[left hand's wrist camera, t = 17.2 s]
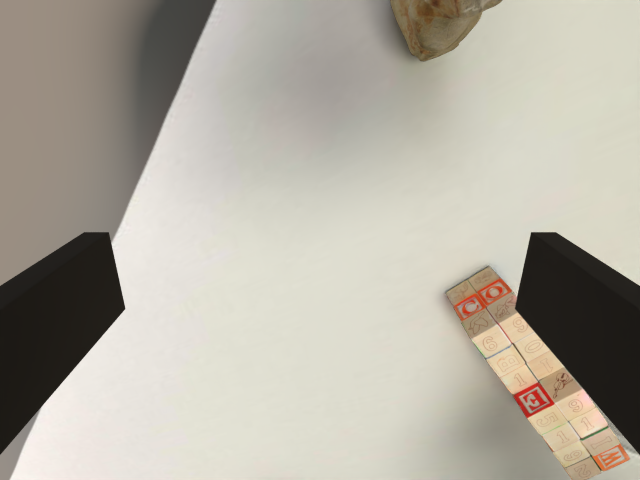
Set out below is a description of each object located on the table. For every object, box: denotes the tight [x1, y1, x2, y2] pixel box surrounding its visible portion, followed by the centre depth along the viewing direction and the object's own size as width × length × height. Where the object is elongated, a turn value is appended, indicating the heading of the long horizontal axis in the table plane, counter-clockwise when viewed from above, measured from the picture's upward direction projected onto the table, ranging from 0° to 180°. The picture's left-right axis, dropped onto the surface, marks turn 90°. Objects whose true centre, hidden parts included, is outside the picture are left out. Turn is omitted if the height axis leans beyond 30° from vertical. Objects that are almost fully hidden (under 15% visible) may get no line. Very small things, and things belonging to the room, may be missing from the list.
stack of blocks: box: [446, 266, 630, 480], centre depth 44 cm, size 21×6×12 cm, turn 37°
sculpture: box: [390, 0, 502, 61], centre depth 29 cm, size 6×7×15 cm
